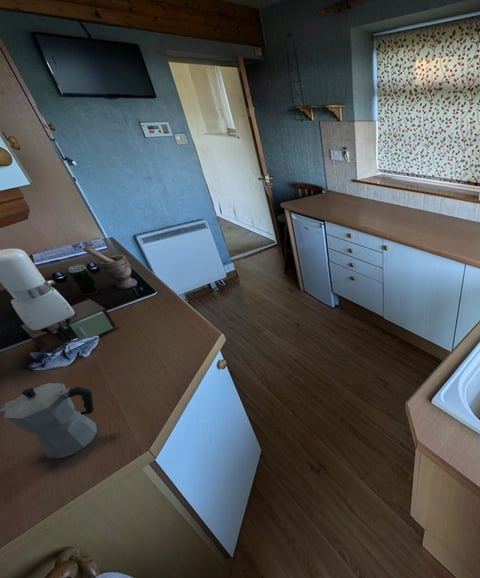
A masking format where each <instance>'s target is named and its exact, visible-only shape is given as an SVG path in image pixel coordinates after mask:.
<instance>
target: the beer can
mask: <svg viewBox="0 0 480 578" xmlns="http://www.w3.org/2000/svg"><path fill="white" fill-rule="evenodd" d="M68 273H69V275H70V276H71V277H72V279H73V281H74V282H75V284H76V286H77V288H78V289H79V290H80V293H82V294H83V295H84V296H91V295H94V294H96V293H98V292H99V291H100V289H99V286H98V284H97V282H96V281H95V279H94V278H93V275H92V274H91V272H90V270H89V269H88V268H87V266H86V265H85V264H76V265H72V266H70V267H69V268H68Z"/></svg>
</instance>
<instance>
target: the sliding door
mask: <svg viewBox="0 0 480 578" xmlns="http://www.w3.org/2000/svg"><path fill="white" fill-rule="evenodd" d="M69 326H70V328H71V329H72V330H73V332H74V333H75V335H76V336H77V337H78V339H79V340H82V339H85V338H90V337H93V336H97V335H100V334H102V333H104V332H106V331H108V330H110V329H112V328H113V327H112V326H111V324H110V322H109V321H108V319H107V317H106V316H105V314H104V312H102V311H101V312H99V313H96V314H94V315H91V316H89V317H87V318H84V319H82V320H80V321H77V322H75V323H72V324H70V325H69Z"/></svg>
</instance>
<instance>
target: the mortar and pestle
mask: <svg viewBox="0 0 480 578" xmlns="http://www.w3.org/2000/svg"><path fill="white" fill-rule="evenodd" d="M82 250H83V251H84V252H85V253H87V254H89V255H90V256H93V257H95V258H97V259H99V260H100V261H99V263H100V265H101V266H102V268H103V269H104V271H105V273H106V274H107V275H108V276H109V277H110V278H111V279H114V280H116V281H117V282H116V284H115V285H116V289H118V290H126V289H130V288H132V287H135V286H137V284H138V281H137V279H135V278H132V277H131V275H132V267H131V264H130V262H129V261H128V258H127V256H126V255H125V254H120V255H119V254H117V255H111V256H106V255H104V254H102V253H101V252H100V251H99V250H97V249H95V248H94V247H93V246H90V245H86V246H85V247H83V248H82Z"/></svg>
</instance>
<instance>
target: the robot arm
mask: <svg viewBox="0 0 480 578" xmlns="http://www.w3.org/2000/svg"><path fill="white" fill-rule="evenodd" d="M0 284H1V285H2V286H3V287H4V289H5V290H6V291H7V293H8V294H9V295H10V296H11V298H12V299H11V300H10V303H11V305H12V308H13V310H14V311H15V313H16V314H17V316H18V317H19V319H20V320H21V321H22V322H23V324H25V325H26V326H27V327H29V331H30V333H31V334H37V333H41V332H49V333H54V334H55V336H56V337H57V338H58V339H59V340H63V341H64V342H66V341H68V340H71V338H70V336H71V333H70V332H69V330H68V329H67V328H68V324H69V323H70V321H71V320H73V319H74V318H76V317H77V316H78V315H77V314H76V313H75V312H74V311H73V309H72V308H71V306H72V305H70V304H69V302H68V301H67V300H66V299H65V298H64V297H63V296H62V295H61V293H60V292H59V291H58V290H57V289H56V288H54V287H53V285H55V284H56V282H55V281H54V279H51V280H46V279H45V278H44V277H43V275H42V274H41V272H40V271H39V270H38V268H37V266H36V265H35V263H34V262H33V261H32V259H31V258H30V256H29V255H28V253H27V252H25V251H24V250H23V249H21V248H5V249H0ZM55 323H58V324H59V329H57V328H54V327H53V326H52V325H53V324H55ZM67 339H68V340H67Z"/></svg>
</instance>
